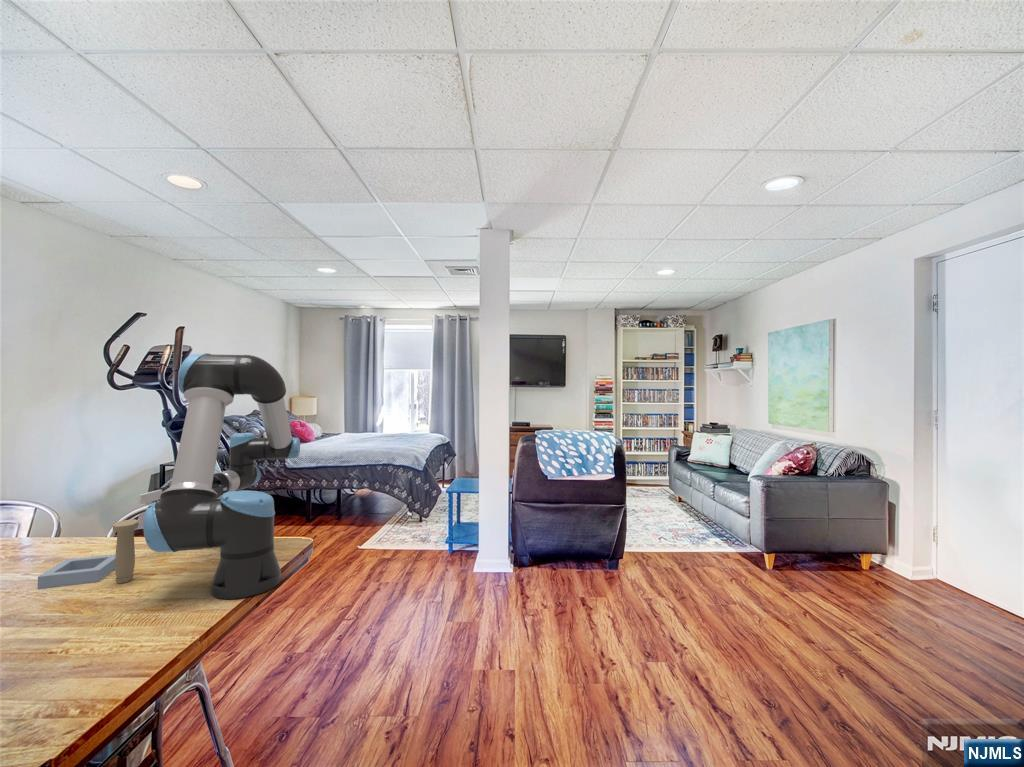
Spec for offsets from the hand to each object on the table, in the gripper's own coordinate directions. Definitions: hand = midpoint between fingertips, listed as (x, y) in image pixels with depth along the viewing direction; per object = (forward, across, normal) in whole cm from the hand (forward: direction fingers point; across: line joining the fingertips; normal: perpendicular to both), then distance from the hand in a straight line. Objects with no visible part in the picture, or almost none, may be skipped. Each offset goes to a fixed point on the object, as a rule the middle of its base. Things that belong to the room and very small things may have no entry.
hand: (161, 500), depth 123 cm
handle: (+10, 0, -18) cm, 21 cm away
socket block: (+9, +14, -18) cm, 25 cm away
